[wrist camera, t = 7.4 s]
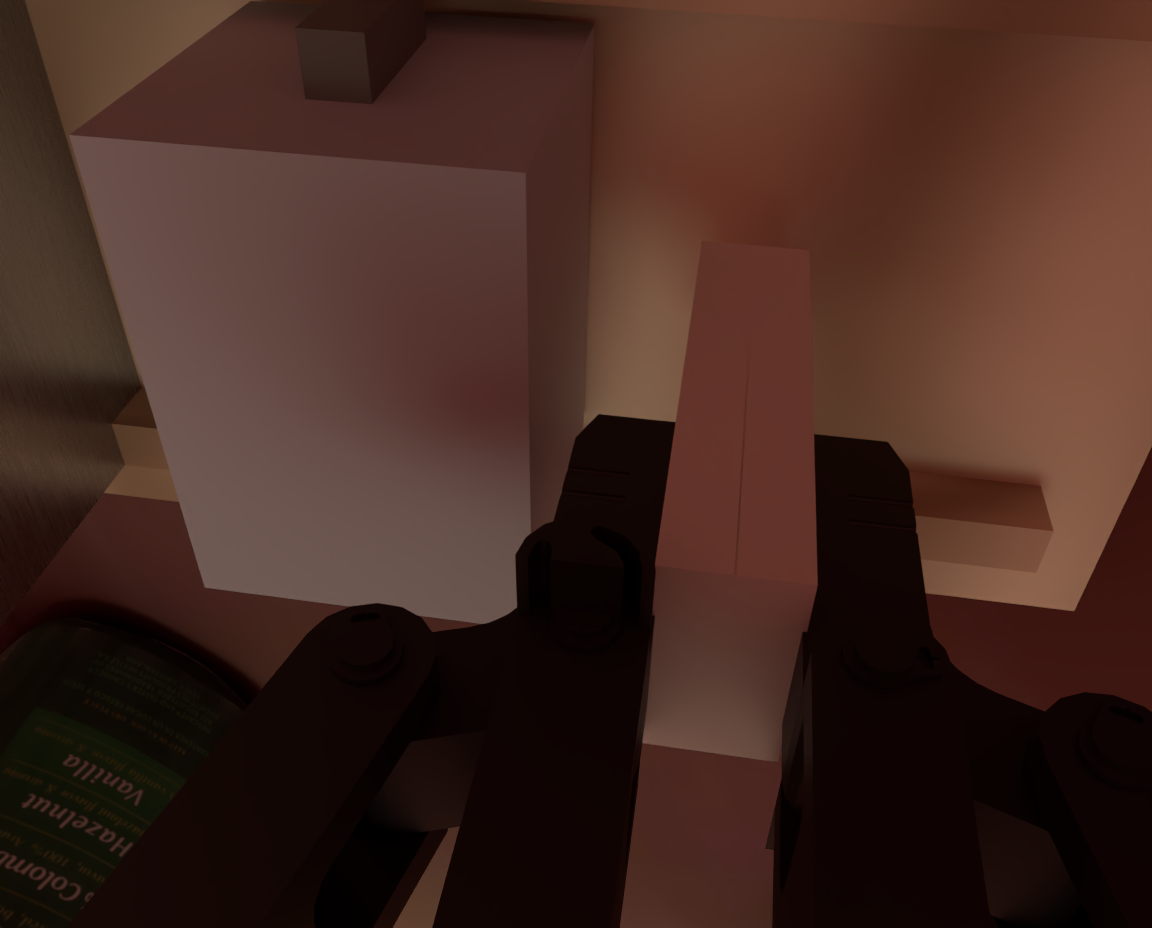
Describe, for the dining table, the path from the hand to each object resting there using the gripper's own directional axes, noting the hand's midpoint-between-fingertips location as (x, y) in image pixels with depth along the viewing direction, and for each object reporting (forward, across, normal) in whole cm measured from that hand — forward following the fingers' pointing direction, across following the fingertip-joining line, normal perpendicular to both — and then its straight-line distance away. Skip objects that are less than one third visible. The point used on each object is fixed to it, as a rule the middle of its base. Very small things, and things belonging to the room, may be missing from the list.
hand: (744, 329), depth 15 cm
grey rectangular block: (+2, +5, -2) cm, 6 cm away
